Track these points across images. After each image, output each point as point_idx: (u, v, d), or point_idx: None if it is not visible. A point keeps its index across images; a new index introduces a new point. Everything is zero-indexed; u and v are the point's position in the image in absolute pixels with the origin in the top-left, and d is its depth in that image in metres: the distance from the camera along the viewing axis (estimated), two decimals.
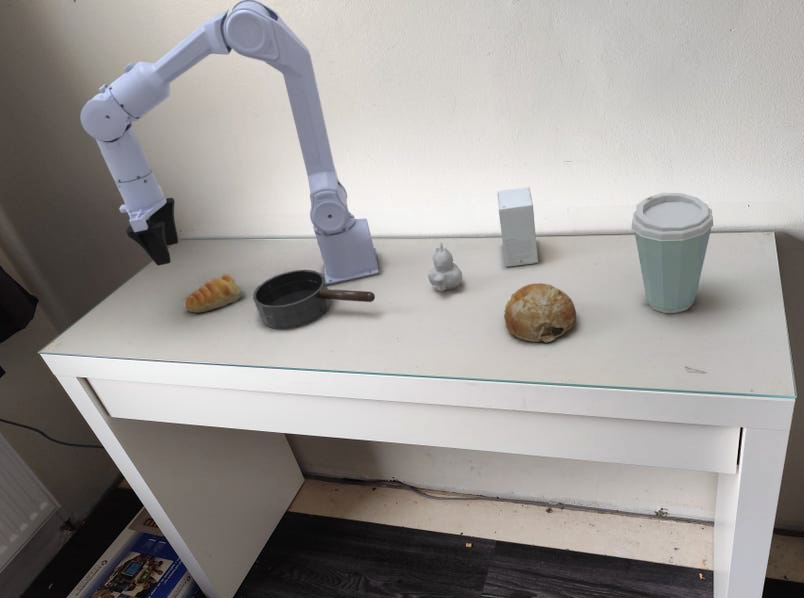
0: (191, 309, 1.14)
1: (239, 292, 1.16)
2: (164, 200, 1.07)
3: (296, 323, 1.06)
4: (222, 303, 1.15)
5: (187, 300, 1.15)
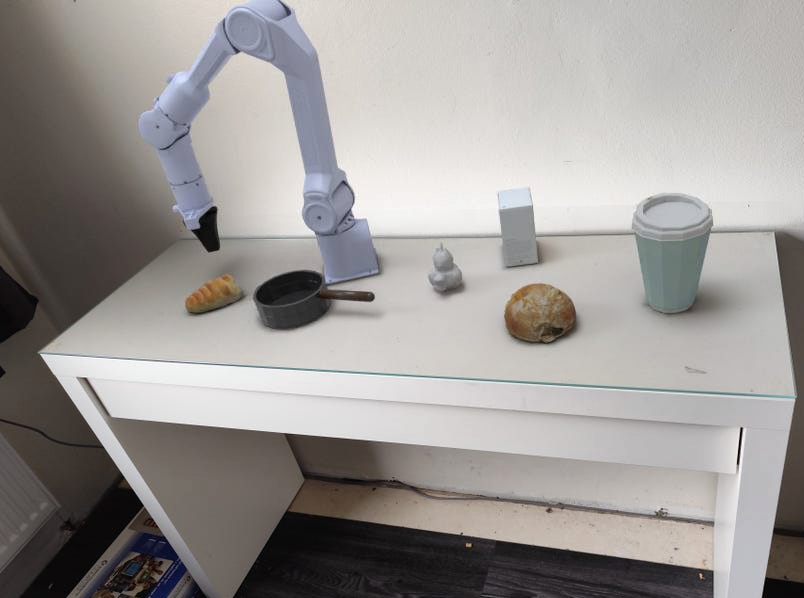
0: (191, 309, 1.14)
1: (239, 292, 1.16)
2: (213, 201, 1.17)
3: (296, 323, 1.06)
4: (222, 303, 1.15)
5: (187, 300, 1.15)
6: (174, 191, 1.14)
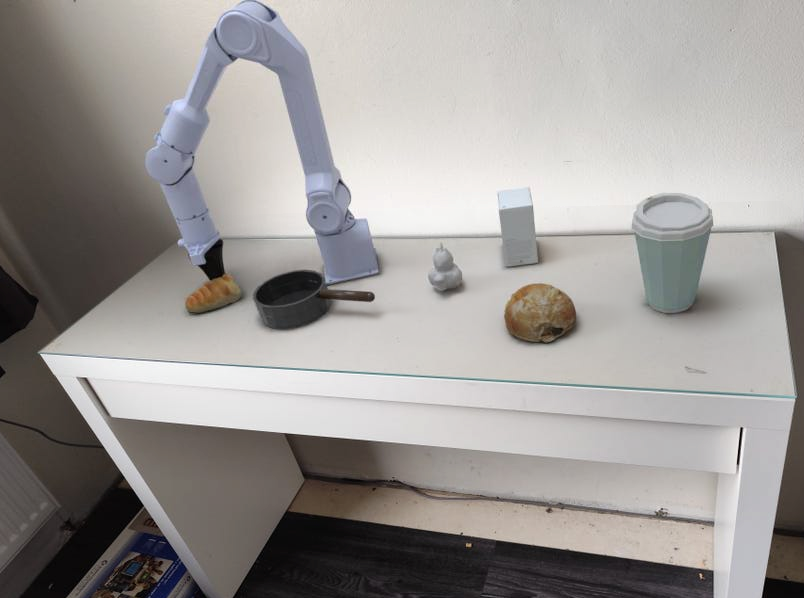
0: (191, 309, 1.14)
1: (239, 292, 1.16)
2: (218, 235, 1.16)
3: (296, 323, 1.06)
4: (222, 303, 1.15)
5: (187, 300, 1.15)
6: (179, 226, 1.12)
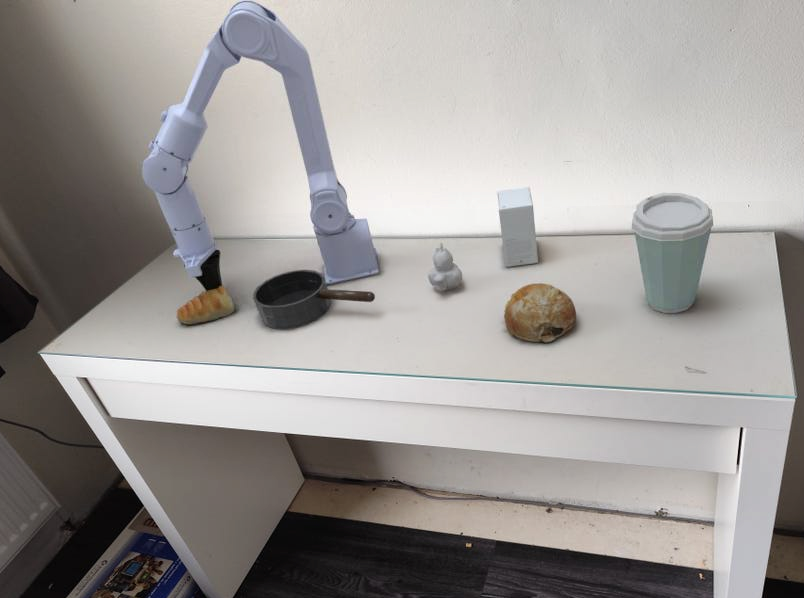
0: (181, 320, 1.11)
1: (231, 306, 1.12)
2: (215, 245, 1.12)
3: (296, 323, 1.06)
4: (213, 316, 1.12)
5: (179, 310, 1.12)
6: (175, 236, 1.09)
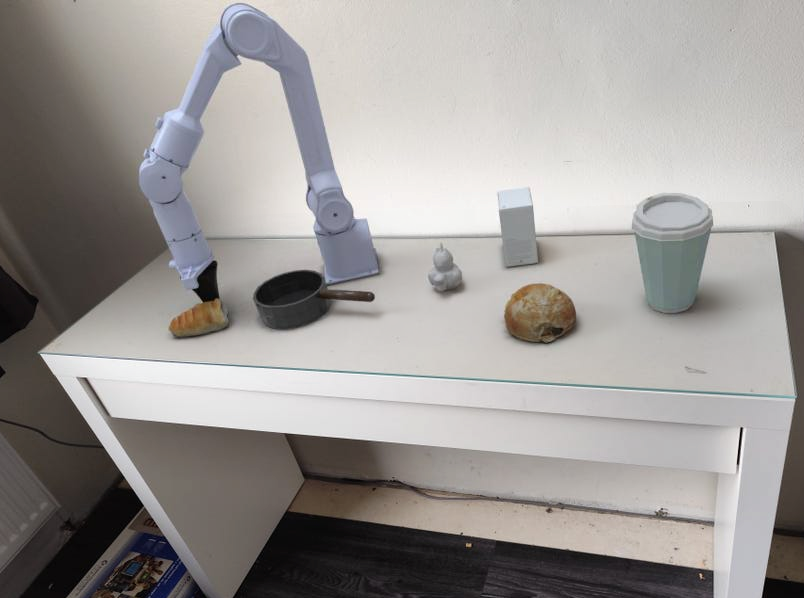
0: (172, 332, 1.08)
1: (223, 321, 1.09)
2: (212, 256, 1.09)
3: (296, 323, 1.06)
4: (204, 330, 1.08)
5: (172, 321, 1.09)
6: (170, 247, 1.05)
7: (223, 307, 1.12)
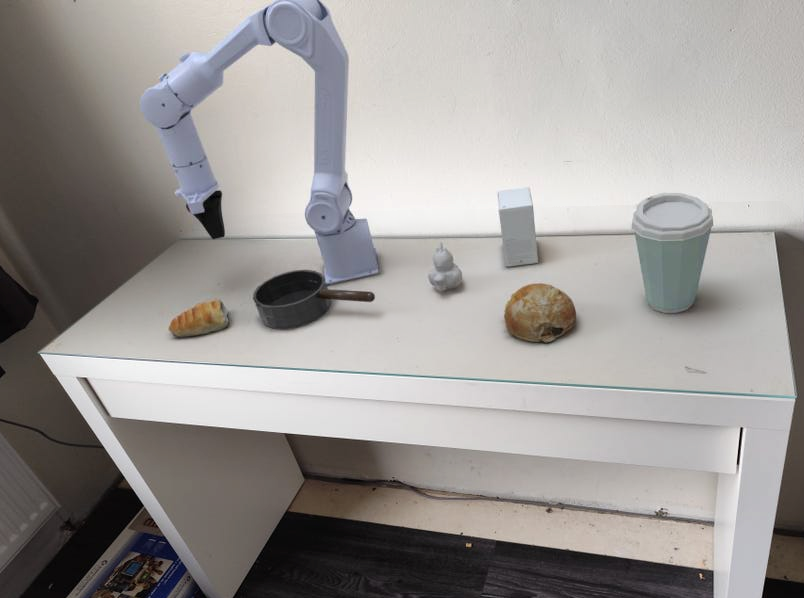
0: (172, 332, 1.08)
1: (223, 321, 1.09)
2: (217, 185, 1.12)
3: (296, 323, 1.06)
4: (204, 330, 1.08)
5: (172, 321, 1.09)
6: (177, 174, 1.08)
7: (223, 307, 1.12)
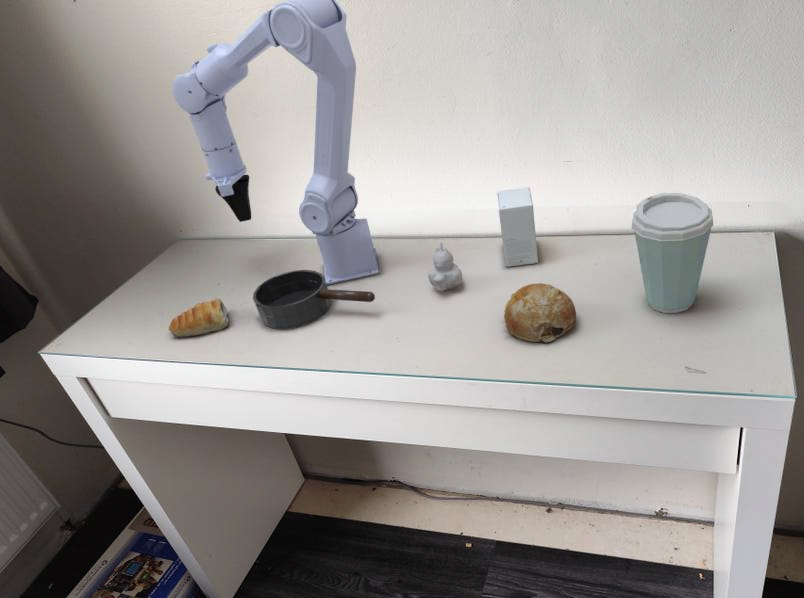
0: (172, 332, 1.08)
1: (223, 321, 1.09)
2: (245, 169, 1.16)
3: (296, 323, 1.06)
4: (204, 330, 1.08)
5: (172, 321, 1.09)
6: (207, 157, 1.13)
7: (223, 307, 1.12)
